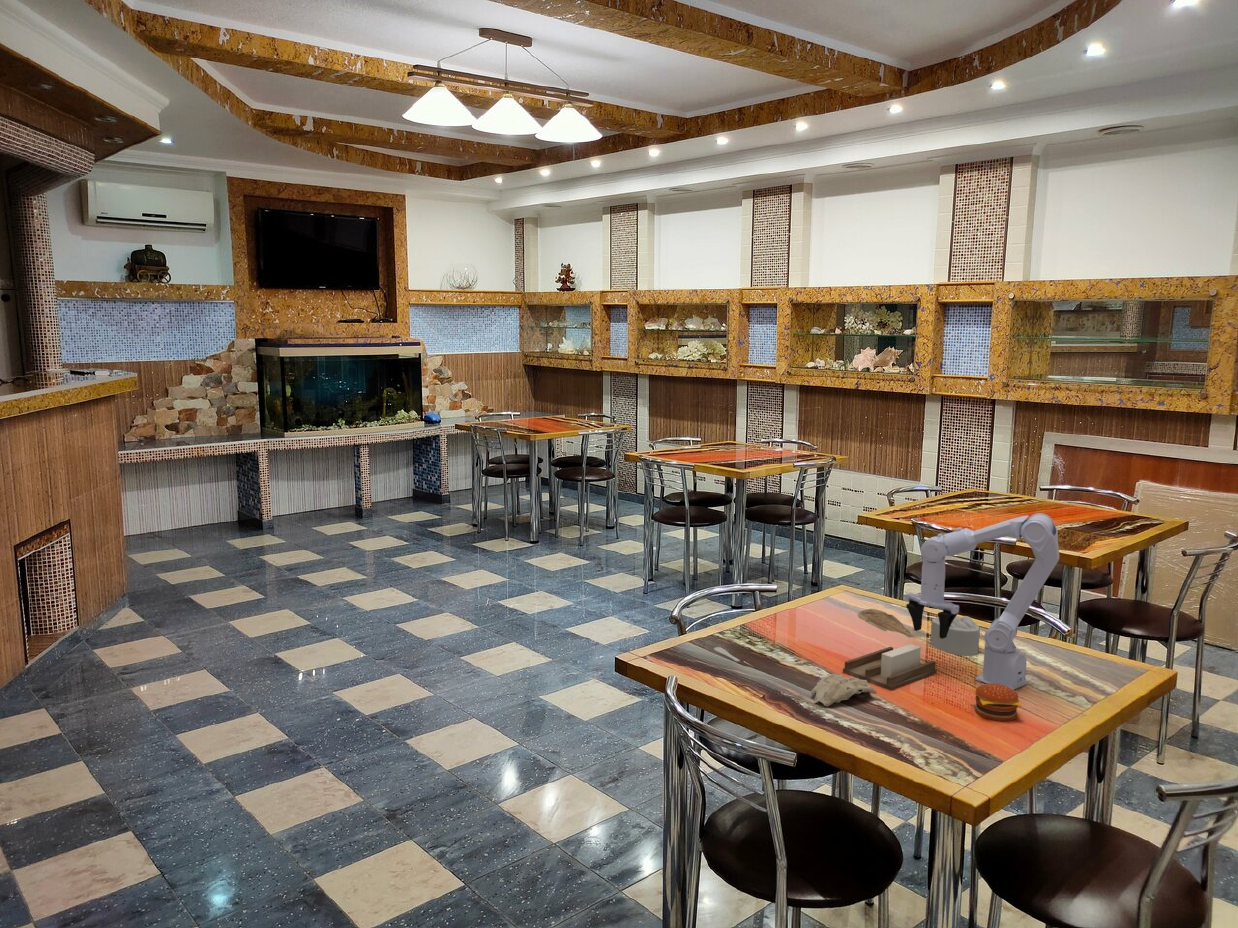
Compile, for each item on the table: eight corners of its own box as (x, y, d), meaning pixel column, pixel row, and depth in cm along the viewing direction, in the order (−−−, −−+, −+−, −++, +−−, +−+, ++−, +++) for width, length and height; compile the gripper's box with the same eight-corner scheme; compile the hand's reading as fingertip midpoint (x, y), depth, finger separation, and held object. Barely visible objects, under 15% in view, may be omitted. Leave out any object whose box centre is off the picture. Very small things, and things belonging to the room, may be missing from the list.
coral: (821, 708, 209) (822, 687, 208) (802, 689, 221) (803, 669, 220) (882, 705, 211) (883, 684, 211) (860, 686, 223) (861, 666, 223)
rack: (936, 673, 231) (937, 662, 230) (891, 690, 220) (892, 678, 219) (888, 656, 243) (888, 646, 242) (842, 672, 231) (843, 661, 231)
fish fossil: (927, 637, 260) (927, 633, 259) (897, 643, 257) (897, 639, 256) (876, 609, 284) (875, 606, 284) (848, 615, 281) (847, 611, 281)
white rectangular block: (919, 669, 231) (920, 647, 230) (890, 680, 224) (891, 657, 223) (909, 666, 233) (910, 643, 232) (880, 676, 226) (881, 653, 225)
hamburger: (968, 704, 212) (970, 677, 211) (1010, 706, 211) (1012, 679, 210) (980, 721, 202) (982, 693, 201) (1024, 723, 202) (1026, 695, 201)
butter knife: (720, 646, 250) (711, 648, 249) (770, 675, 229) (761, 677, 228) (720, 647, 250) (711, 649, 249) (770, 677, 229) (761, 679, 228)
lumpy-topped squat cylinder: (952, 638, 258) (954, 609, 256) (988, 652, 246) (990, 622, 245) (925, 643, 253) (926, 614, 252) (960, 658, 242) (962, 627, 240)
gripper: (899, 579, 234) (897, 629, 236) (948, 592, 223) (946, 644, 225) (915, 575, 239) (913, 624, 241) (964, 587, 227) (962, 638, 229)
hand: (930, 633), depth 233 cm, fingers open, 7 cm apart
